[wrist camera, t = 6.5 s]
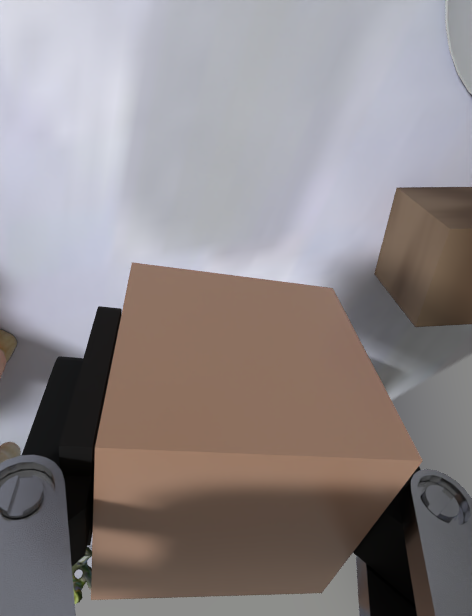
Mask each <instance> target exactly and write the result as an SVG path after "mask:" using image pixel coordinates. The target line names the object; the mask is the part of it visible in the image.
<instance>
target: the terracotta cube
mask: <svg viewBox="0 0 472 616" xmlns="http://www.w3.org/2000/svg"><path fill="white" fill-rule="evenodd" d="M421 462H422V459H421V457H420V455H419V453H418V451H417V449H416V447H415V445H414V443H413V442H412V440H411V438H410V436H409V434H408V432H407V430H406V428H405V426H404V424H403V422H402V420H401V419H400V417H399V415H398V413H397V411H396V409H395V407H394V405H393V403H392V401H391V399H390V397H389V395H388V393H387V391H386V390H385V388H384V386H383V384H382V382H381V380H380V378H379V376H378V374H377V372H376V370H375V368H374V367H373V365H372V363H371V361H370V359H369V357H368V355H367V353H366V351H365V349H364V347H363V345H362V344H361V342H360V340H359V338H358V336H357V334H356V332H355V330H354V328H353V326H352V324H351V322H350V320H349V319H348V317H347V315H346V313H345V311H344V309H343V307H342V305H341V303H340V301H339V299H338V297H337V296H336V294H335V292H334V290H333V288H327V287H319V286H311V285H304V284H296V283H288V282H280V281H272V280H265V279H257V278H249V277H241V276H233V275H225V274H218V273H210V272H202V271H194V270H186V269H179V268H171V267H163V266H155V265H147V264H139V263H132V265H131V270H130V275H129V280H128V285H127V290H126V295H125V300H124V305H123V310H122V315H121V320H120V325H119V330H118V335H117V340H116V345H115V350H114V355H113V360H112V365H111V370H110V375H109V380H108V385H107V390H106V395H105V400H104V405H103V410H102V415H101V420H100V425H99V430H98V435H97V440H96V445H95V465H94V503H93V542H92V580H91V600H103V599H104V600H105V599H136V598H172V597H205V596H239V595H271V594H305V593H322V592H323V591H324V589H325V588H326V587H327V585H328V584H329V583H330V582H331V580H332V579H333V578H334V576H335V575H336V574H337V572H338V571H339V570H340V569H341V567H342V566H343V564H344V563H345V562H346V561H347V559H348V558H349V557H350V555H351V554H352V553H353V551H354V550H355V549H356V548H357V546H358V545H359V544H360V542H361V541H362V540H363V538H364V537H365V536H366V534H367V533H368V532H369V531H370V529H371V528H372V527H373V525H374V524H375V523H376V521H377V520H378V519H379V517H380V516H381V515H382V513H383V512H384V511H385V510H386V508H387V507H388V506H389V504H390V503H391V502H392V500H393V499H394V498H395V496H396V495H397V494H398V493H399V491H400V490H401V489H402V487H403V486H404V485H405V483H406V482H407V481H408V479H409V478H410V477H411V475H412V474H413V473H414V472H415V470H416V469H417V468H418V466H419V465H420V464H421Z"/></svg>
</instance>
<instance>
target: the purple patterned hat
mask: <svg viewBox="0 0 472 616" xmlns="http://www.w3.org/2000/svg"><path fill="white" fill-rule="evenodd" d="M445 24H446V31H447V37H448V44H449V50H450V53H451V56H452V59H453V62H454V65H455V68H456V71H457V73H458V75H459V77H460V78H461V80H462V82H463V83H464V85H465V87H466V88H467V90H468V92H469V93H470V94H471V95H472V0H445Z"/></svg>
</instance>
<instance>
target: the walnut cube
mask: <svg viewBox="0 0 472 616" xmlns="http://www.w3.org/2000/svg"><path fill="white" fill-rule="evenodd" d="M374 274H375V276H376V277H377V278H378V280H379V281H380V282H381V283H382V285H383V286H384V287H385V289H386V290H387V291H388V292H389V294H390V295H391V296H392V298H393V299H394V300H395V302H396V303H397V304H398V305H399V307H400V308H401V309H402V311H403V312H404V313H405V314H406V316H407V317H408V318H409V320H410V321H411V322H412V323H413V325H414V326H415V327H424V326H443V325H462V324H472V187H411V188H397V189H396V193H395V196H394V200H393V204H392V208H391V212H390V216H389V219H388V223H387V227H386V231H385V235H384V239H383V243H382V246H381V250H380V254H379V258H378V262H377V266H376V270H375V273H374Z"/></svg>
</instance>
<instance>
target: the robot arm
mask: <svg viewBox="0 0 472 616" xmlns="http://www.w3.org/2000/svg"><path fill="white" fill-rule="evenodd" d="M120 320H121V309H119V308H109V307H100V306H99V307H98V309H97V312H96V316H95V319H94V323H93V327H92V330H91V334H90V337H89V341H88V344H87V348H86V351H85V355H84V358H83V359H82V358H70V357H58V358H57V360H56V362H55V364H54V367H53V370H52V372H51V375H50V378H49V381H48V384H47V386H46V389H45V392H44V395H43V398H42V400H41V403H40V406H39V409H38V411H37V414H36V417H35V420H34V423H33V425H32V428H31V431H30V434H29V436H28V439H27V442H26V445H25V448H24V450H23V453H22V455H21V456H17V457H14V458H11V459H7V460H5V461H4V462H2V463H0V616H76V614H75V601H74V589H73V576H72V566H73V565H75V564H76V563H77V562H78V561H79V560H80V559H82V558H83V557H84V556H85V553H86V548H87V545H90V543H91V537H92V532H93V503H94V465H95V445H96V440H97V435H98V430H99V425H100V420H101V415H102V410H103V405H104V400H105V395H106V390H107V385H108V380H109V375H110V370H111V365H112V360H113V355H114V350H115V345H116V340H117V335H118V330H119V325H120ZM353 553H354V554H355V555H356V556H357V557H356V565H357V581H358V597H359V614H360V616H472V498H471V497H470V496H469V494H468V493H467V492H466V490H465V489H464V488H463V487H462V486H461V485H460V484H459V483H458V482H457V481H455V480H454V479H452V478H451V477H449V476H448V475H446V474H444V473H441V472H439V471H437V470H431V469H424V470H420V468H419V466H418V468H417V469H416V470H415V472H414V473H413V474H412V475H411V477H410V478H409V479H408V481H407V482H406V483H405V485H404V486H403V487H402V489H401V490H400V491H399V493H398V494H397V495H396V496H395V498H394V499H393V500H392V502H391V503H390V504H389V506H388V507H387V508H386V510H385V511H384V512H383V513H382V515H381V516H380V517H379V519H378V520H377V521H376V523H375V524H374V525H373V527H372V528H371V529H370V531H369V532H368V533H367V534H366V536H365V537H364V538H363V540H362V541H361V542H360V544H359V545H358V546H357V548H356V549H355V550H354V551H353Z"/></svg>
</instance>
